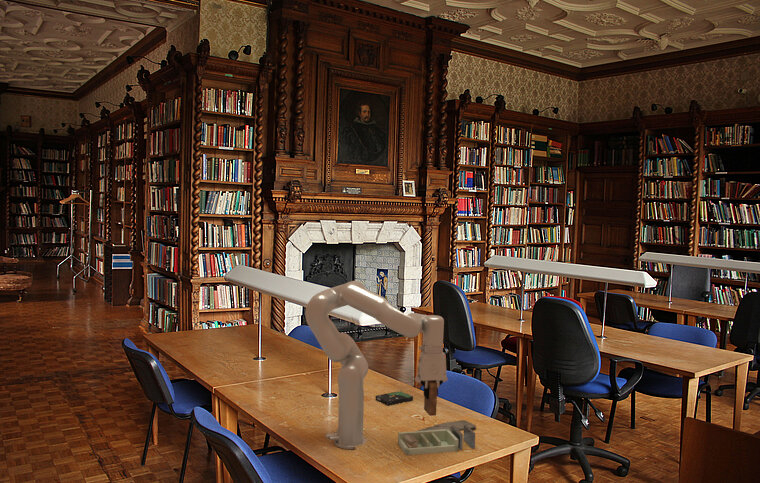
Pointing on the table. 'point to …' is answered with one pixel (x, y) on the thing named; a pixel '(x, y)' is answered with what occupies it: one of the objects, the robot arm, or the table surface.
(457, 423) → the stone slab
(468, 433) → the stand
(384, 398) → the disk drive
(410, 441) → the offcut upper
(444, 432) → the tray
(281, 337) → the table surface
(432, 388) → the walnut board
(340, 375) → the robot arm
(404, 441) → the offcut lower
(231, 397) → the table surface
